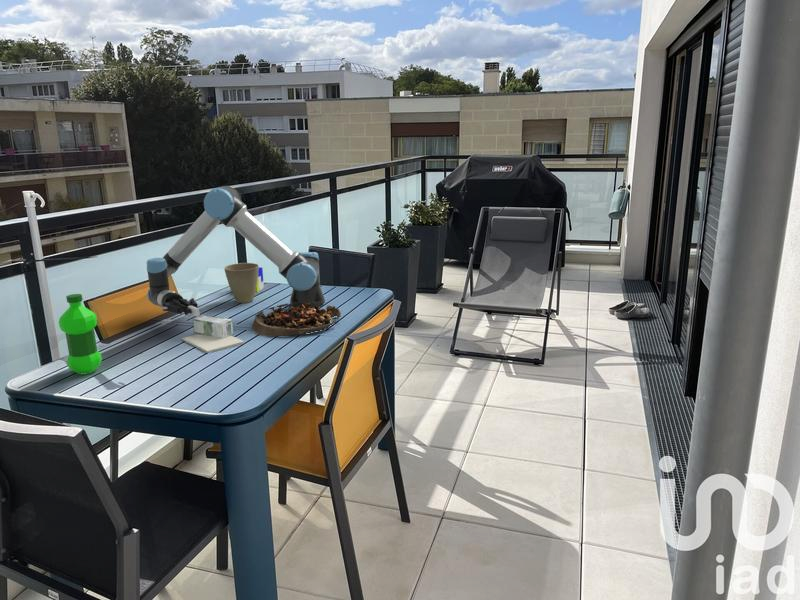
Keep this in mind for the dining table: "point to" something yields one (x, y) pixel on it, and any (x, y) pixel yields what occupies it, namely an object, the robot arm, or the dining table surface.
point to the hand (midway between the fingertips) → (197, 312)
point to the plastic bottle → (80, 336)
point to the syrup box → (213, 326)
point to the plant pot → (242, 280)
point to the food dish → (294, 320)
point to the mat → (212, 342)
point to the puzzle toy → (260, 280)
